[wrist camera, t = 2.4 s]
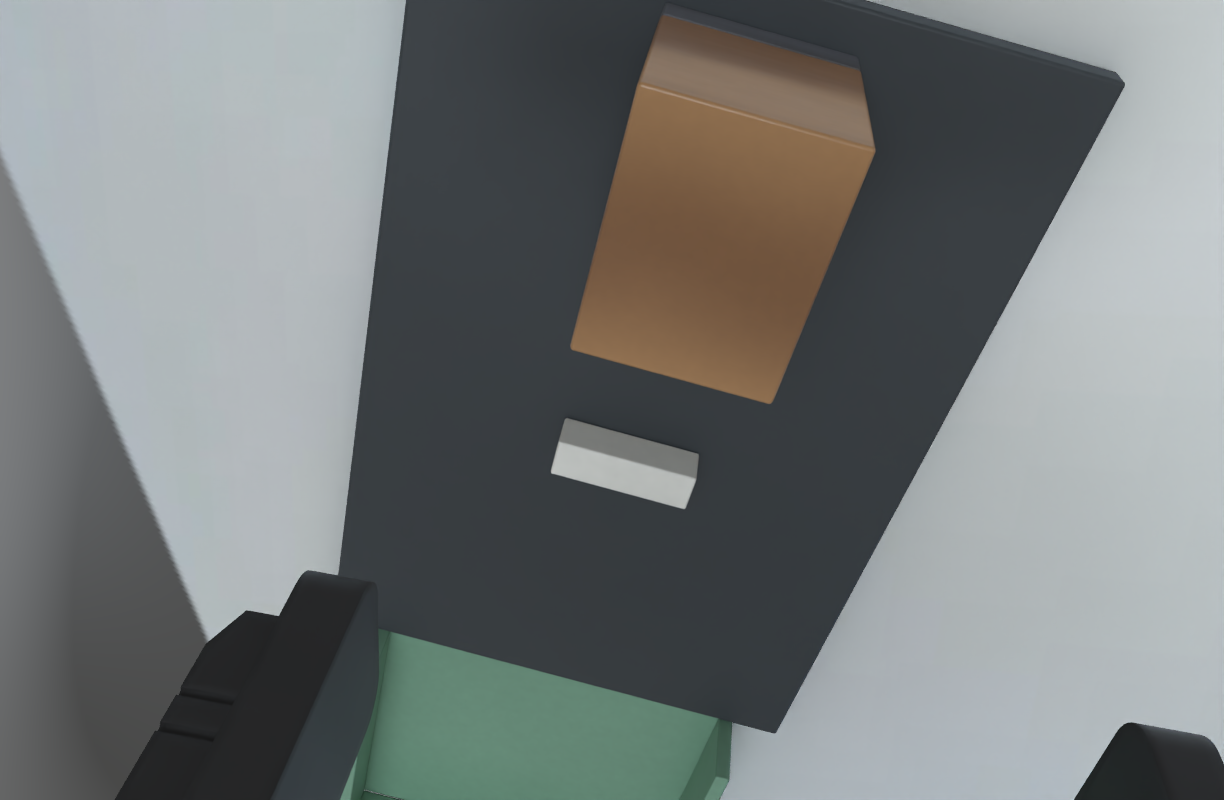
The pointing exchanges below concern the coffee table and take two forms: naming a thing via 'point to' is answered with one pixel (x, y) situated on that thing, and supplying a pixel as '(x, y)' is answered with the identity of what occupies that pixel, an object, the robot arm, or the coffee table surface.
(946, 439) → the coffee table surface
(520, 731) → the dustpan
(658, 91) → the eraser
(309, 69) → the coffee table surface
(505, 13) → the slate
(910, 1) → the coffee table surface
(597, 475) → the chalk
